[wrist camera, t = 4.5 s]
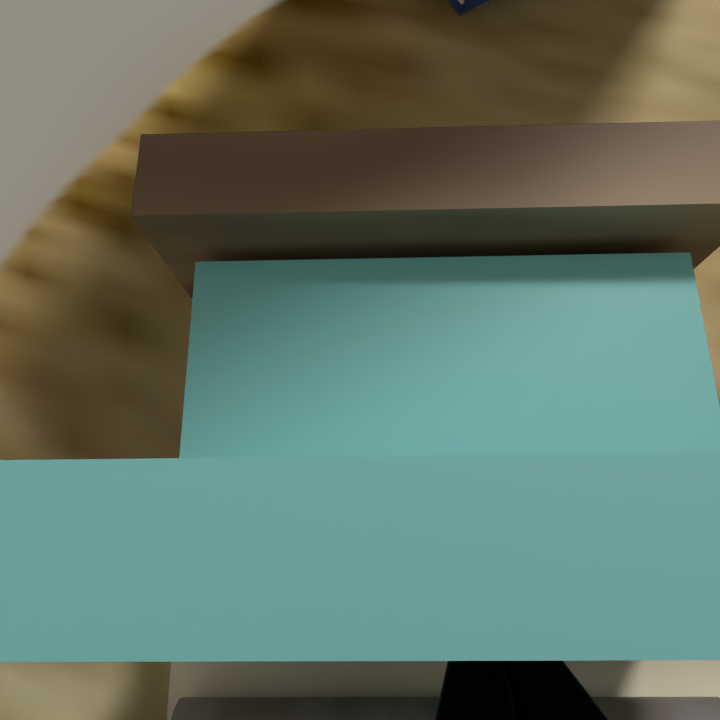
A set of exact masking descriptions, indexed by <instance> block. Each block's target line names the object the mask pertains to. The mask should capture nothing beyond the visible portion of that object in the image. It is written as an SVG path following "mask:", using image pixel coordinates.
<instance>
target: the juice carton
mask: <svg viewBox="0 0 720 720" xmlns="http://www.w3.org/2000/svg"><path fill="white" fill-rule="evenodd" d="M448 1H449V3H450V4H451V5H452V6H453V8H454V9H455V10H456V12H457V13H458V14H459V15H462V14H464V13H466V12H469V11H471V10H473V9H475V8H477V7H479V6H481V5H484V4H486V3H488V2H490V1H492V0H448Z"/></svg>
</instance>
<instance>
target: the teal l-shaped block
mask: <svg viewBox="0 0 720 720" xmlns="http://www.w3.org/2000/svg"><path fill="white" fill-rule="evenodd" d="M594 660H720V406H719V401H718V396H717V391H716V385H715V380H714V375H713V370H712V364H711V359H710V354H709V349H708V343H707V338H706V333H705V328H704V322H703V317H702V312H701V307H700V302H699V296H698V291H697V286H696V281H695V275H694V270H693V265H692V260H691V254H690V252H689V253H636V254H582V255H529V256H476V257H423V258H370V259H316V260H263V261H210V262H195V274H194V286H193V298H192V310H191V322H190V334H189V346H188V358H187V370H186V382H185V394H184V406H183V418H182V430H181V442H180V454H179V458H149V459H56V460H0V662H209V661H594Z"/></svg>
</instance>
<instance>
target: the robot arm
mask: <svg viewBox="0 0 720 720" xmlns="http://www.w3.org/2000/svg"><path fill="white" fill-rule="evenodd" d="M435 720H609V719H608V718H607V717H606V716H605V714H604V713H603V712H602V710H601V709H600V708H599V706H598V705H597V704H596V703H595V701H594V700H593V699H592V697H591V696H590V695H589V694H588V692H587V691H586V690H585V688H584V687H583V686H582V685H581V683H580V682H579V681H578V679H577V678H576V677H575V676H574V674H573V673H572V672H571V670H570V669H569V668H568V667H567V665H566V664H565V663H564V661H448V662H447V666H446V671H445V675H444V680H443V684H442V689H441V693H440V698H439V702H438V707H437V711H436V716H435Z"/></svg>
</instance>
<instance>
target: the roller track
mask: <svg viewBox="0 0 720 720" xmlns="http://www.w3.org/2000/svg"><path fill="white" fill-rule="evenodd" d="M131 216H132V218H133V219H134V220H135V222H136V223H137V224H138V226H139V227H140V228H141V230H142V231H143V233H144V234H145V235H146V237H147V238H148V239H149V241H150V242H151V243H152V245H153V246H154V247H155V249H156V250H157V252H158V253H159V254H160V256H161V257H162V258H163V260H164V261H165V262H166V264H167V265H168V266H169V268H170V269H171V271H172V272H173V273H174V275H175V276H176V277H177V279H178V280H179V281H180V283H181V284H182V286H183V287H184V288H185V290H186V291H187V292H188V294H189V295H190V296H191V298H193V286H194V274H195V262H210V261H263V260H316V259H370V258H423V257H476V256H529V255H582V254H636V253H689V252H690V254H691V260H692V265H693V269H694V268H695V267H697V266H698V265H699V264H700V263H701V262H702V261H703V260H704V259H706V258H707V257H708V256H709V255H710V254H711V253H712V252H713V251H715V250H716V249H717V248H718V247H719V246H720V121H684V122H643V123H601V124H559V125H518V126H476V127H434V128H392V129H351V130H309V131H267V132H226V133H184V134H142V135H141V139H140V147H139V155H138V163H137V172H136V180H135V188H134V196H133V204H132V213H131ZM447 662H448V661H209V662H171V669H170V681H169V694H168V706H167V719H166V720H435V716H436V711H437V707H438V702H439V698H440V693H441V689H442V684H443V680H444V675H445V671H446V666H447ZM564 663H565V664H566V665H567V667H568V668H569V669H570V670H571V672H572V673H573V674H574V676H575V677H576V678H577V679H578V681H579V682H580V683H581V685H582V686H583V687H584V688H585V690H586V691H587V692H588V694H589V695H590V696H591V697H592V699H593V700H594V701H595V703H596V704H597V705H598V706H599V708H600V709H601V710H602V712H603V713H604V714H605V716H606V717H607V718H608V719H609V720H720V662H719V660H594V661H564Z"/></svg>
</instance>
